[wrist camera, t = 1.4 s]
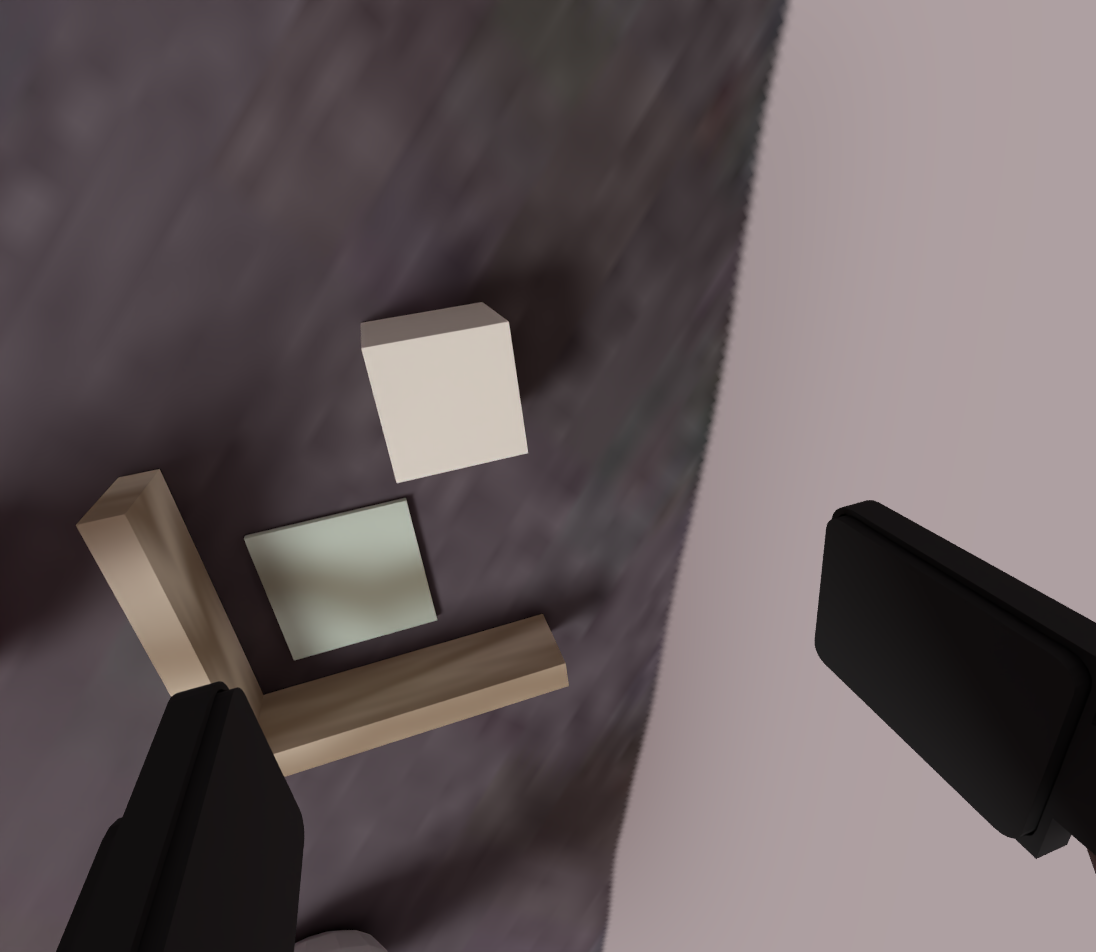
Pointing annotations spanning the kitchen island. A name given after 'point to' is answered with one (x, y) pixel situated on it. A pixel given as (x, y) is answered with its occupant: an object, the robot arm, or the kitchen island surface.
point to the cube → (444, 389)
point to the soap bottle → (339, 942)
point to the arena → (312, 623)
